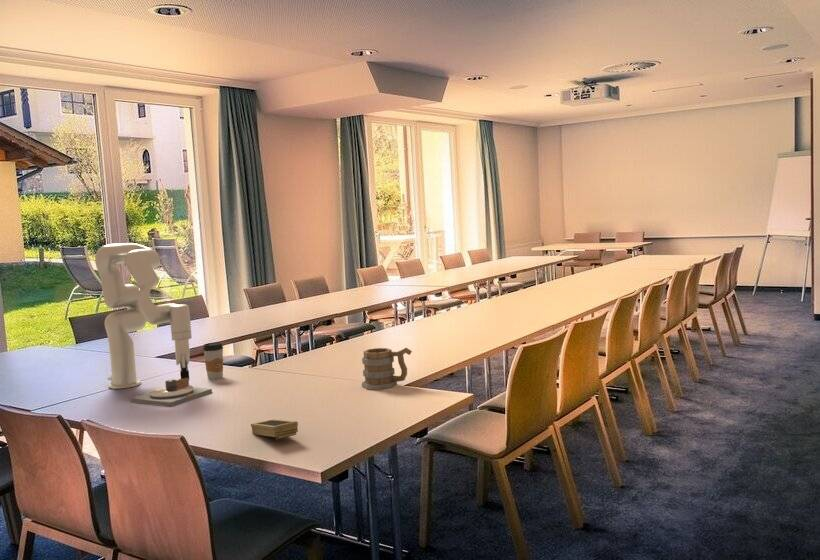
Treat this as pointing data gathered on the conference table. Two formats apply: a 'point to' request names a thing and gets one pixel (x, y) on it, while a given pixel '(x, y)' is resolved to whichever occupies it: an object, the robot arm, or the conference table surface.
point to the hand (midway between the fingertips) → (185, 380)
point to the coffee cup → (214, 360)
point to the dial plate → (171, 398)
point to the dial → (173, 389)
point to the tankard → (382, 368)
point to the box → (275, 428)
